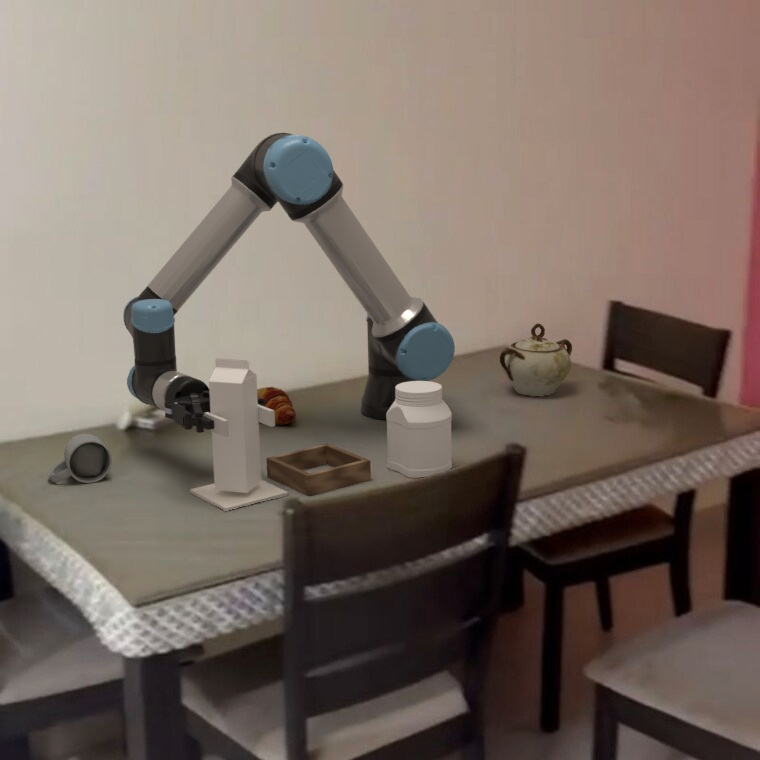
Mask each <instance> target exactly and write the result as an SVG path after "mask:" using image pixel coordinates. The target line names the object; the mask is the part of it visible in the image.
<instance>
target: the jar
mask: <svg viewBox="0 0 760 760" xmlns="http://www.w3.org/2000/svg"><path fill="white" fill-rule="evenodd" d="M395 394H396V395H395V397H396V398H395V401H394V402H393V404H392V405H391V407H390V408H389V410H388V411H387V413H386V438H387V440H386V443H387V451H386V452H387V460H386V464H387V465H386V468H387V470H390V471H394V472H398V473H400V474H402V475H403V476H405V477H406V478H409V479H421V478H420V477H424V476H429V475H432V474H435V473H439V472H442V471H445V470H448V469H450V468H453V460H452V419H453V413H452V410H451V409H450V408H449V405H448V404H447V403H446V402H445V401H444V400H443V386H442V384H441V383H438V382H434V381H431V380H429V381H409V382H403V383H400V384H398V385H396V387H395Z"/></svg>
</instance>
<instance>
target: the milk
mask: <svg viewBox="0 0 760 760" xmlns="http://www.w3.org/2000/svg"><path fill="white" fill-rule="evenodd" d="M214 361H215V368H214V370H213V372H212V373H211V375H210V378H209V380H208V388H209V394H210V411H211V413H212V414H214V415H217V416H219V417H221V418H224V419H226V420H228V426H229V436H228V437H223V436H221V435H219V434H216V433H214V432H212V431H211V443H212V446H211V447H212V459H213V460H212V462H213V480H214V481H213V482H214V483H215V490H222V491H232V492H242V493H248V492H249V491H250V490H251V489H253V488H254V487H255V486H256V485H258V484H259V483H260V482H261V480H262V471H261V470H262V469H261V446H260V424H259V423H260V422H259V421H258V399H257V389H258V383H257V382H258V381H257V374H256V373H255V372H254V371H252V370H251V369H250V366H249V365H250V364H249V363H250V362H249V361H248V360H247V359H239V358H237V359H236V358H220V357H218V358H216V359H215V360H214Z"/></svg>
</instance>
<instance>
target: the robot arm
mask: <svg viewBox="0 0 760 760" xmlns="http://www.w3.org/2000/svg"><path fill="white" fill-rule="evenodd" d="M230 178H231V179H230V180H231V181H230V182H231V186H230V187H229V188H228V190H226V192H225V193H224V194H223V196H221V198H220V199H219V200H218V201H217V203H215V205H214V206H213V207H212V209H210V211H209V212H208V213H207V214H206V216H205V217H204V218H203V219H202V220H201V221H200V223H199V224H198V225H197V226H196V227H195V229H194V230H193V231H192V232H191V234H190V235H189V236H188V237H186V239H185V241H184V242H182V244H181V245H180V247H178V249H177V250H176V251H175V252H174V254H173V255H172V256H171V257H170V258H169V259H168V261H167V262H166V263H165V264H164V266H163V267H162V268H161V269H160V270H159V272H157V274H156V275H155V276H154V277H153V278H152V280H151V281H150V282H149V283H148V284H147V286H145V288H144V289H143V290H142V291H141V293H140V294H139V295H138V296H135V297H133V298H131V299H130V300H129V301H128V302H127V304H125V306H124V310H123V323H124V326H125V328H126V330H127V331H128V333H129V334H130V335H131V338H132V342H133V353H134V354H133V355H134V365H133V366H132V367H131V368H130V370H129V373H128V375H127V378H126V385H127V389H128V391H129V392H130V394H131V395H132V396H133V397H134V398H136V399H137V400H138V401H139V402H141V403H142V404H145V405H147V406H151V407H154V408H156V409H159V410H161V411H163V412H164V416H165V418H167V419H171V420H173V421H174V422H175V423H177V424H178V425H179V426H181V428H183V429H185V430H186V431H188V430H192V429H193V427H195V428H196V433H198V434H199V433H200V434H201V433H204V432H205V430H207V431H210V432H211V433H212V432H214V433H216V434H219V435H221V436H223V437H228V436H229V426H228V420H226V419H224V418H221V417H219V416H217V415H214V414H212V413H211V411H210V394H209V385H207V384H206V383H205V382H204V381H203V380H200V379H197V378H196V377H194V376H190V375H188V374H186V373H182V372H180V371H178V368H177V356H176V335H175V322H176V318H175V316H176V314H177V313H178V312H179V310H180V309H181V308H182V307H183V306H184V305H185V304H186V302H187V301H188V300H189V298H190V297H191V296H192V295H193V294H194V293H195V292H196V290H197V289H198V288H199V286H200V285H201V284H202V283H203V282H204V281H205V280H206V278H208V276H209V275H210V274H211V272H212V271H213V270H215V268H216V267H217V265H219V263H220V262H221V261H222V260H223V258H225V256H226V255H227V254H228V253H229V251H230V250H231V249H232V248H233V247H234V245H235V244H236V243H238V241H239V240H240V239H241V237H242V236H243V235H244V234H245V233H246V231H248V229H249V228H250V227H251V225H252V224H253V223H254V222H255V221H256V219H258V217H259V216H260V215H261V214H262V213H264V212H271V210H272V209H273V208H274V206H275V205H276V204H278V203H279V205H280V206H281V207H282V209H283V210H284V212H285V213H286V214H287V216H288V217H289V218H290V220H291V221H292V222H297V223H300V224H301V223H302V224H304V226H305V227H306V229H307V230H308V231H309V233H310V234H311V236H312V237H313V238H314V240H315V241H316V242H317V244H318V246H319V247H320V248H321V250H322V251H323V253H324V254H325V256H326V257H327V258H328V259H329V261H330V263H331V264H332V265H333V267H334V269H335V270H336V271H337V273H338V275H340V277H341V278H342V280H343V281H344V282H345V284H346V286H347V287H348V289H349V290H350V291H351V293H352V294H353V295H354V296H355V298H356V300H357V301H358V302H359V304H360V305H361V307H362V308H363V310H364V311H365V312H366V314H367V315H366V318H365V320H366V321H365V322H366V324H367V325H366V326H367V328H366V329H367V331H366V332H367V359H368V361H367V363H368V366H367V367H368V369H367V370H368V375H367V379H366V383H365V386H364V389H363V395H362V397H361V400H360V412H361V413H362V414H363V416H366V417H368V418H373V419H377V420H384V421H385V420H386V413H387V411H388V410H389V408H390V407H391V405H392V404H393V402H394V401H395V398H396V397H395V395H396V394H395V387H396V385H398V384H400V383H403V382H409V381H432V380H435V379H437V378H439V377H441V376H442V375H443V374H444V373H445V372H446V371H447V370H448V368H449V367H450V365H451V364H452V362H453V359H454V356H455V351H456V350H455V349H456V347H455V342H454V341H455V340H454V339H453V338H454V337H453V336H452V334H451V333H450V331H449V330H448V329H447V328H446V327H445V326H444V325H443V324H441V323H439V322H438V321H437V319H436V318H435V316H434V315H433V314H432V312H431V310H430V309H429V308H428V306H427V305H426V304H425V302H424V301H423V299H422V298H420V297H415V296H410V294H409V293H408V291H407V290H406V288H405V287H404V285H403V284H402V282H401V281H400V279H399V278H398V277H397V275H396V273H395V272H394V271H393V269H392V267H391V266H390V265H389V264H388V262H387V260H386V259H385V257H384V256H383V255H382V253H381V252H380V250H379V249H378V247H377V246H376V244H375V243H374V241H373V240H372V238H371V237H370V235H369V234H368V233H367V231H366V230H365V228H364V227H363V226H362V224H361V222H360V221H359V220H358V218H357V216H356V215H355V214H354V212H353V211H352V209H351V208H350V206H349V205H348V204H347V202H346V201H345V199H344V198H343V190H344V183H343V181H342V180H341V179H340V177H339V176H338V174H337V173H336V171H335V170H334V165H333V163H332V159H331V157H330V155H329V153H328V152H327V150H326V149H325V147H323V146H322V145H321V144H320V143H319V142H318V141H316V140H315V139H313V138H311V137H309V136H305V135H301V134H292V133H289V132H279V133H278V132H277V133H273V134H270V135H268V136H267V137H264V138H263V139H261V141H260V142H259V143H258V144H257V145H255V147H254V149H252V151H251V152H250V154H248V156H247V157H246V158H245V160H244V161H243V162H242V164H241V165H240V167H239V168H238V169H237V170H236V171H235V173H234V174H233V175H232V176H231V177H230ZM257 399H258V421H259V423H261V424H263V425H265V426H267V427H269V428H270V427H271V428H272V427H275V426H276V424H275V413H274V410H272V409H269V408H267V407H265V399H263V398H258V397H257ZM386 421H387V420H386Z"/></svg>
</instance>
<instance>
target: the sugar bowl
mask: <svg viewBox="0 0 760 760" xmlns="http://www.w3.org/2000/svg"><path fill="white" fill-rule="evenodd" d="M538 328H539V329H540V333H539V334H537V333H536V330H537V329H538ZM545 329H546V328H545V327H544V325H543V324H542V323H535V324H534V325H533V326H532V328H531V330H530V334H531V336H530V337H529V338H525V339H521V340H519V341H515V342H513V343H511V345H509V347H505V349H503V350H502V351H501V353H500V356H499V362H500V365H501V368H502V371H503V373H504V375H505V376H506V378H507V379H508V381H509V382H510V384H511V386H512V387H513V389H514V391H515V392H516V393H517V394H520V395H521V396H522V395H523V396H526V395H530V396H529V397H535V396H540V397H544V396H543V395H548V394H551V395H553V394H554V393H555V392H556V390H557V389H559V387H560V385H561V384H562V383H563V382H564V381H565V380H566V378H567V376H568V375H569V373H570V371H571V369H572V360H571V355H572V351H573V344H572V342H571V341H570V340H568V339H567V338H566V339H565V338H564V339H561V340H558V341H556V342H555V341H553V340H550V339H548V338H544V337H545V334H546V330H545ZM552 393H553V394H552ZM541 395H542V396H541ZM548 396H549V395H548Z"/></svg>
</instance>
